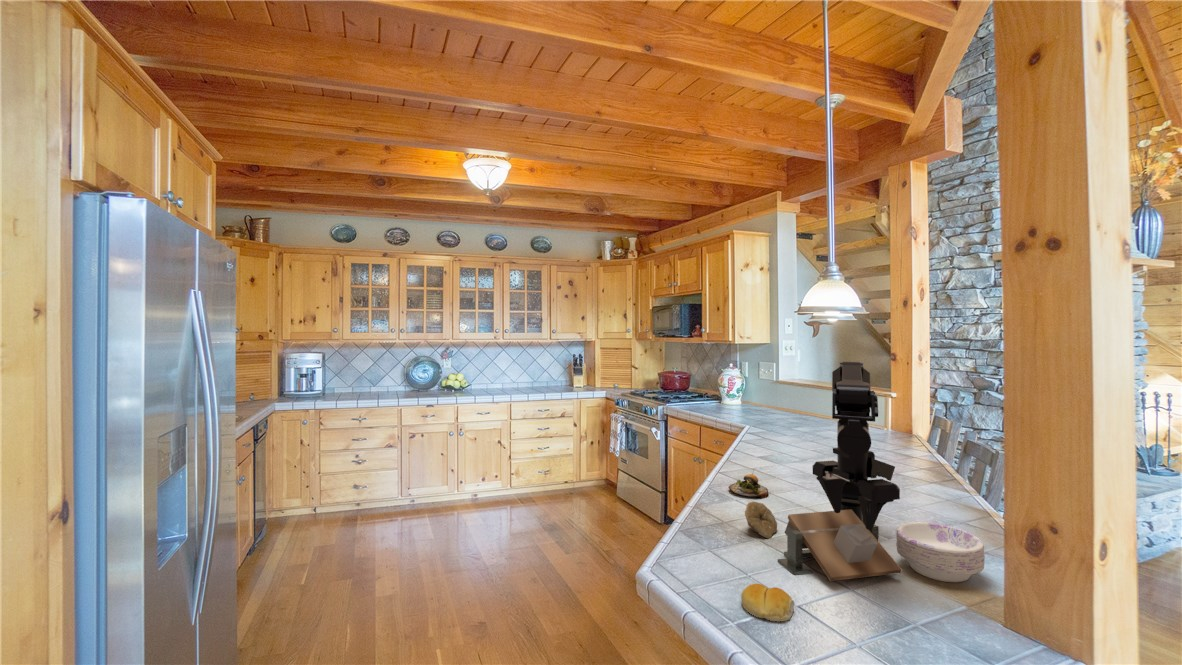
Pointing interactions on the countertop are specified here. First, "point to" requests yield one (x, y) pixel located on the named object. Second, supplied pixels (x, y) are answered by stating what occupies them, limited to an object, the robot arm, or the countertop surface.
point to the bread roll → (767, 602)
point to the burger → (749, 487)
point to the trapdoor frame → (802, 552)
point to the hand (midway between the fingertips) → (852, 520)
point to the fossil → (760, 519)
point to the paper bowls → (940, 551)
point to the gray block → (855, 543)
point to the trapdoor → (820, 540)
